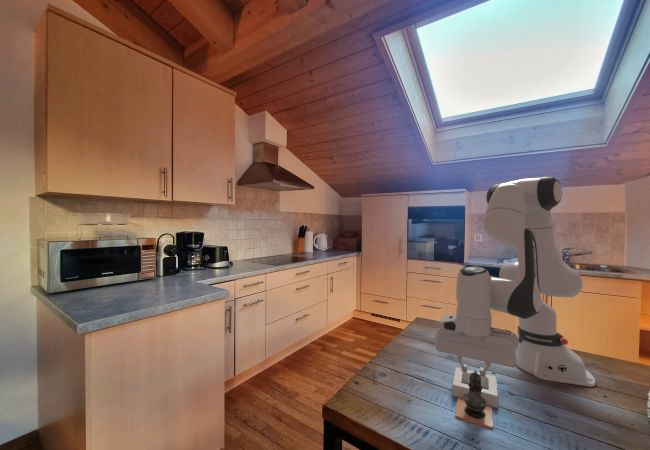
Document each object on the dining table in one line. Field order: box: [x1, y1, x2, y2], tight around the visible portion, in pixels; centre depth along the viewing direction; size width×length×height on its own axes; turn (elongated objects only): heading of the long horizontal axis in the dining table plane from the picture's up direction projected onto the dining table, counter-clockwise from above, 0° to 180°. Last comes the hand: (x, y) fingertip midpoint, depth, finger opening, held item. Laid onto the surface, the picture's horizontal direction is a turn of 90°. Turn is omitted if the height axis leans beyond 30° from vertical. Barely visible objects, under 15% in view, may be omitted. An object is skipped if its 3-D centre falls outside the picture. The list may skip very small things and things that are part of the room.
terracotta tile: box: [454, 397, 494, 430], centre depth 78 cm, size 9×9×1 cm
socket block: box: [452, 366, 499, 409], centre depth 88 cm, size 12×12×4 cm
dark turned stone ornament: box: [462, 369, 488, 419], centre depth 77 cm, size 6×6×12 cm
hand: (473, 373), depth 78 cm, fingers open, 3 cm apart
